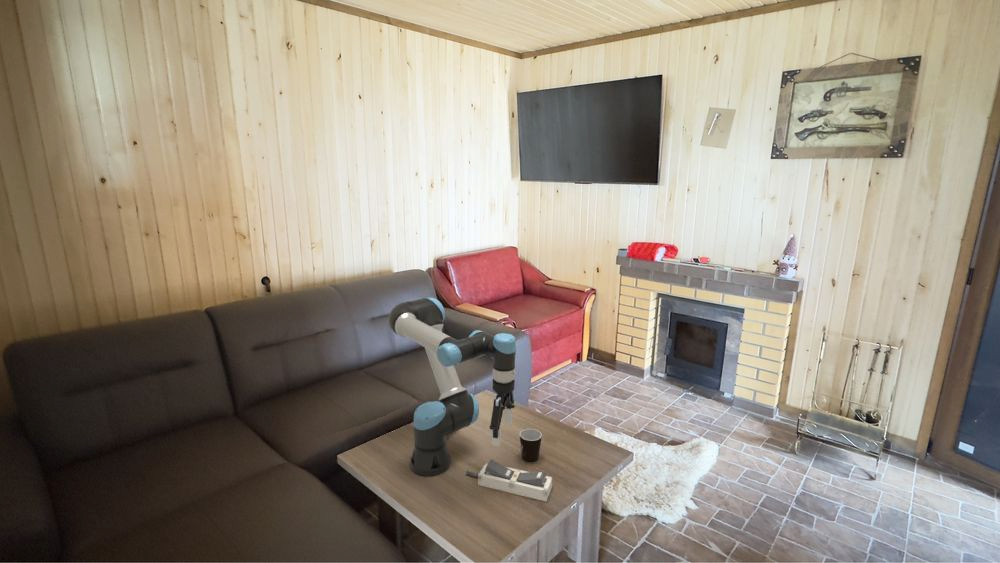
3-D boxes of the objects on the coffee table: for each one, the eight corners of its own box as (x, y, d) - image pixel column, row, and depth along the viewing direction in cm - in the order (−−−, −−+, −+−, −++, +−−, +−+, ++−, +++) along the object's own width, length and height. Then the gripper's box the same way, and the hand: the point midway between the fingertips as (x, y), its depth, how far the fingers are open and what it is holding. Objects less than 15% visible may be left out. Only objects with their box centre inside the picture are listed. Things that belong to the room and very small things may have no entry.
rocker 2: (518, 485, 164) (516, 480, 163) (522, 477, 168) (520, 472, 168) (542, 484, 160) (540, 478, 160) (546, 476, 164) (544, 470, 164)
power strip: (462, 481, 169) (462, 469, 168) (471, 468, 177) (471, 456, 176) (546, 501, 159) (546, 489, 158) (552, 487, 167) (552, 475, 165)
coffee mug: (539, 465, 179) (540, 441, 177) (517, 462, 181) (517, 439, 178) (543, 448, 190) (543, 426, 188) (522, 445, 192) (522, 423, 189)
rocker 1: (484, 470, 167) (486, 466, 166) (489, 463, 171) (491, 458, 171) (507, 483, 165) (509, 478, 164) (511, 475, 169) (513, 470, 169)
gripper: (503, 396, 148) (501, 456, 153) (523, 366, 171) (521, 419, 176) (480, 392, 150) (479, 451, 155) (504, 363, 173) (502, 415, 178)
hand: (502, 434), depth 165 cm, fingers open, 13 cm apart
